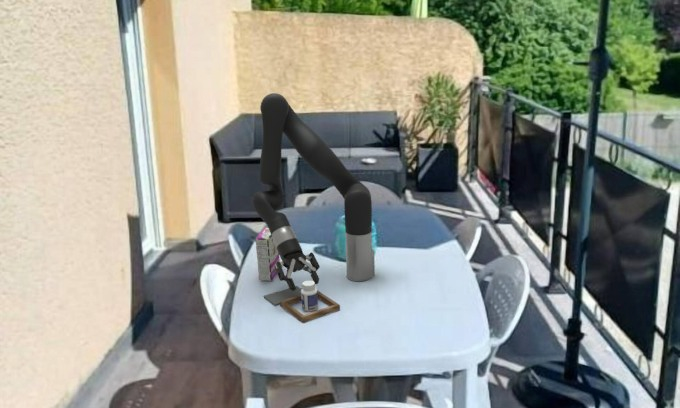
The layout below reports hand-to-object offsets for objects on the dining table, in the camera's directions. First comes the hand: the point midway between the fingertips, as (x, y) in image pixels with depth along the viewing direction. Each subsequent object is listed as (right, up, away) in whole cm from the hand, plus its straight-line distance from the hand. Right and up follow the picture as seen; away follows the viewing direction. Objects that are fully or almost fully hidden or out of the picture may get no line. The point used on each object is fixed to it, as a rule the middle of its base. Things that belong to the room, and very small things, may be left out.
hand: (305, 286), depth 208 cm
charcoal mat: (-7, -4, +9) cm, 13 cm away
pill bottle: (+1, -7, +1) cm, 7 cm away
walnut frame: (+1, -7, +1) cm, 7 cm away
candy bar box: (-15, +1, +26) cm, 30 cm away
